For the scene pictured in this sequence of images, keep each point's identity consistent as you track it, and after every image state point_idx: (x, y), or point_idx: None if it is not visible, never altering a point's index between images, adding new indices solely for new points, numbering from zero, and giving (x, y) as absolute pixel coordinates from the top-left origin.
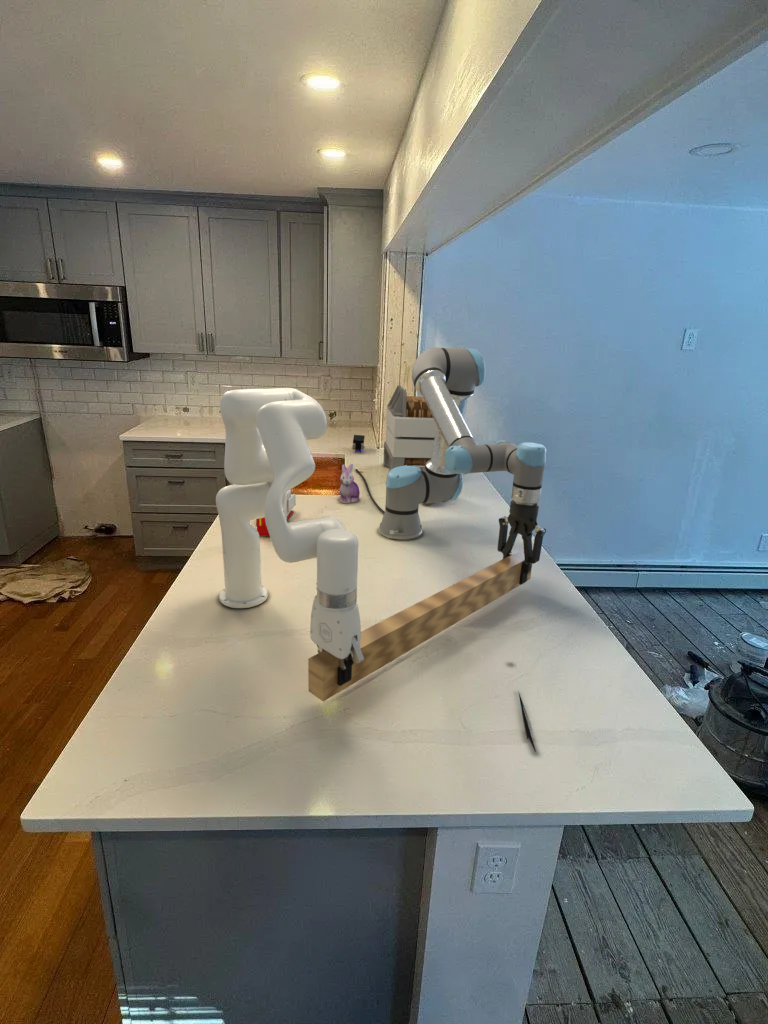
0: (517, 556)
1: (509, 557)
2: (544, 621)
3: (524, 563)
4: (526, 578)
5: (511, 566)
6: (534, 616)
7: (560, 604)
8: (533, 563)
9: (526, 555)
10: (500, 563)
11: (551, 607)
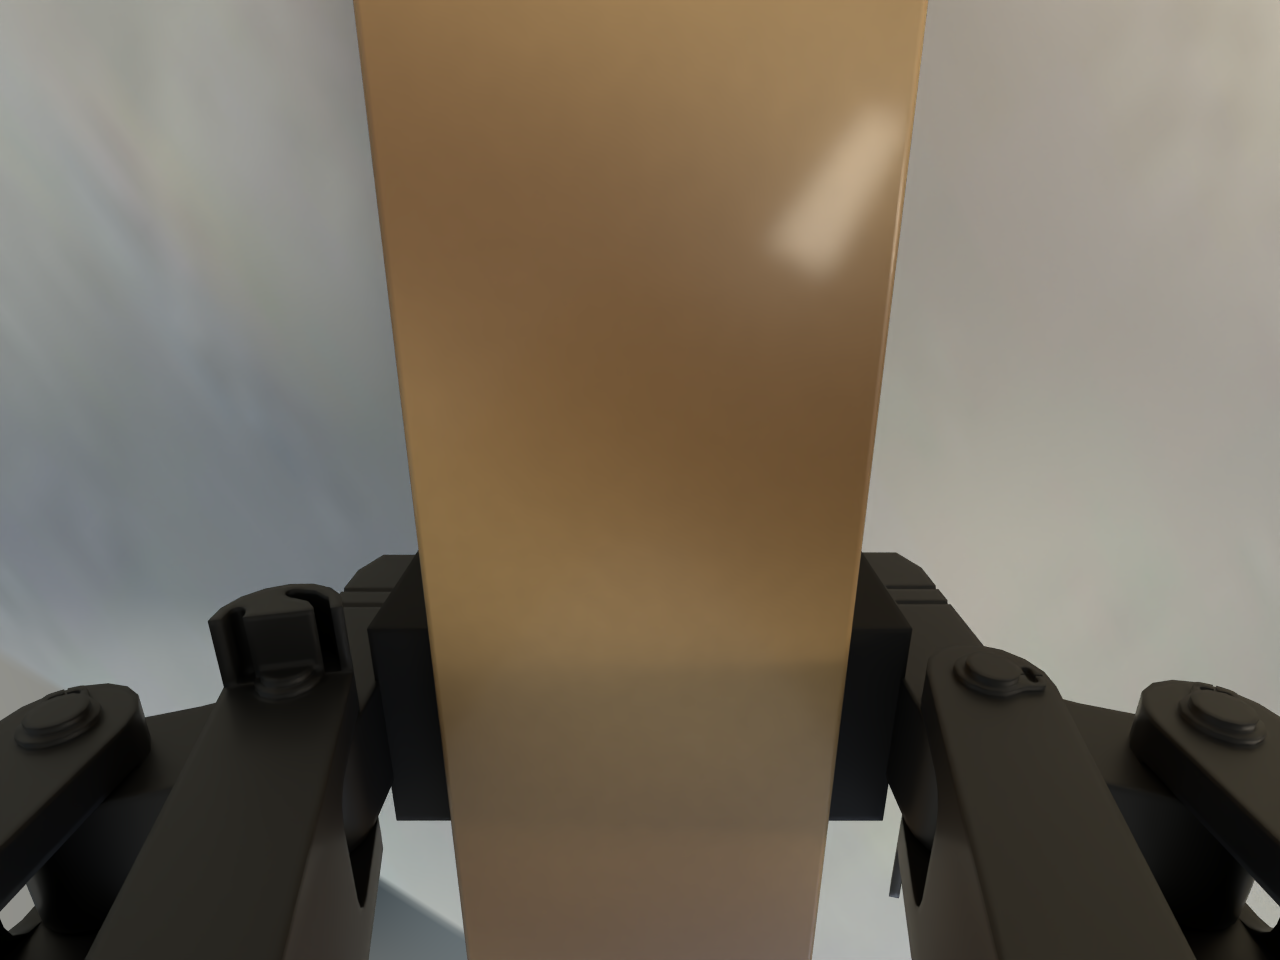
0: (676, 794)
1: (791, 615)
2: (20, 132)
3: (317, 593)
4: None
5: (391, 95)
6: (162, 150)
7: (198, 593)
8: (77, 688)
9: (233, 815)
10: (781, 2)
11: (204, 478)
